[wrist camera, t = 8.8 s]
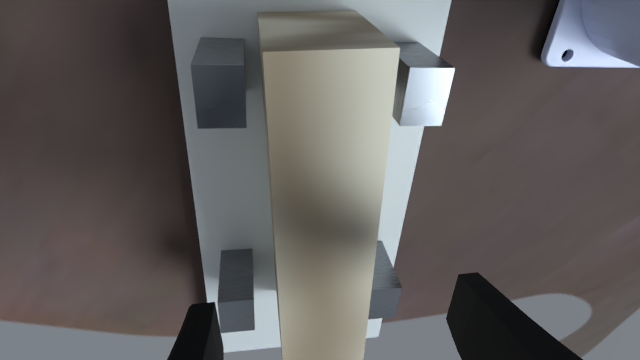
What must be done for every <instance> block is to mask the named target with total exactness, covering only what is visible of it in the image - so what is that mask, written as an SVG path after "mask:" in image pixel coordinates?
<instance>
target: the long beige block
mask: <svg viewBox="0 0 640 360" xmlns="http://www.w3.org/2000/svg"><path fill="white" fill-rule="evenodd" d="M257 17H258V32H259V46H260V61H261V76H262V90H263V105H264V120H265V134H266V149H267V164H268V178H269V193H270V207H271V222H272V237H273V251H274V266H275V281H276V294H277V306H278V318H279V329H280V341H281V353H282V360H363V358H364V350H365V341H366V333H367V325H368V316H369V308H370V299H371V291H372V282H373V274H374V265H375V257H376V248H377V240H378V231H379V223H380V215H381V206H382V198H383V189H384V181H385V172H386V164H387V155H388V147H389V138H390V130H391V121H392V113H393V105H394V96H395V88H396V79H397V71H398V62H399V54H400V47H399V46H398V45H396V44H395V43H394V42H393V41H392V40H390V39H389V38H388V37H387V36H386V35H384V34H383V33H382V32H381V31H380V30H378V29H377V28H376V27H375V26H374V25H373V24H371V23H370V22H369V21H368V20H367V19H365V18H364V17H363V16H362V15H361V14H359V13H358V12H357V11H356V10H349V11H292V12H257Z"/></svg>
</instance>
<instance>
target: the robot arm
mask: <svg viewBox="0 0 640 360" xmlns="http://www.w3.org/2000/svg"><path fill="white" fill-rule="evenodd" d="M566 50H567V54H566V55H565V57H563V58H562V54H563V53H564V52H565V51H566ZM561 58H562V59H561ZM541 61H542V62H543V63H544V64H546V65H548V66H551V67H614V68H640V0H560V2H559V4H558V7H557V10H556V13H555V16H554V19H553V21H552V24H551V27H550V30H549V33H548V36H547V39H546V41H545V44H544V47H543V50H542V53H541ZM446 319H447V323H448V325H449V328H450V331H451V334H452V337H453V339H454V342H455V345H456V347H457V350H458V352H459V355H460V357H461V359H462V360H583V359H581V358H580V357H579V356H577V355H576V354H575V353H573V352H572V351H571V350H569V349H568V348H567V347H566V346H564V345H563V344H562V343H560V342H559V341H558V340H556V339H555V338H554V337H553V336H551V335H550V334H549V333H548V332H547V331H545V330H544V329H543V328H542V327H540V326H539V325H538V324H537V323H536V322H534V321H533V320H532V319H531V318H529V317H528V316H527V315H526V314H525V313H524V312H523V311H521V310H520V309H519V308H518V307H517V306H516V305H514V304H513V303H512V302H511V301H510V300H509V299H508V298H506V297H505V296H504V295H503V294H502V293H501V292H500V291H498V290H497V289H496V288H495V287H494V286H493V285H492V284H490V283H489V282H488V281H487V280H486V279H485V278H484V277H482V276H481V275H480V274H479V273H478V272H477V273H468V274H459V275H458V279H457V282H456V286H455V289H454V293H453V296H452V300H451V303H450V307H449V311H448V314H447V318H446ZM223 353H224V347H223V342H222V336H221V331H220V326H219V321H218V316H217V310H216V305H215V302H209V303H200V304H192V305H191V306H190V307H189V309H188V311H187V314H186V317H185V320H184V322H183V325H182V327H181V330H180V332H179V335H178V337H177V340H176V342H175V344H174V346H173V348H172V350H171V353H170V355H169V357H168V359H167V360H223Z"/></svg>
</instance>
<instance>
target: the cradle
mask: <svg viewBox="0 0 640 360" xmlns="http://www.w3.org/2000/svg"><path fill="white" fill-rule="evenodd" d="M167 1H168V8H169V16H170V24H171V31H172V39H173V46H174V54H175V61H176V69H177V76H178V84H179V92H180V99H181V107H182V114H183V122H184V129H185V137H186V144H187V152H188V160H189V167H190V175H191V182H192V190H193V197H194V205H195V212H196V220H197V228H198V235H199V243H200V250H201V258H202V265H203V273H204V280H205V288H206V296H207V303H209V302H215V305H216V310H217V316H218V321H219V326H220V331H221V336H222V342H223V347H224V352H233V351H244V350H254V349H264V348H273V347H281V341H280V329H279V318H278V306H277V294H276V281H275V266H274V251H273V237H272V222H271V207H270V193H269V178H268V164H267V149H266V134H265V120H264V105H263V90H262V76H261V61H260V46H259V32H258V17H257V12H292V11H349V10H356V11H357V12H358V13H359V14H361V15H362V16H363V17H364V18H365V19H367V20H368V21H369V22H370V23H371V24H373V25H374V26H375V27H376V28H377V29H378V30H380V31H381V32H382V33H383V34H384V35H386V36H387V37H388V38H389V39H390V40H392V41H393V42H394V43H395V44H396V45H398V46H399V47H400V54H399V62H398V71H397V79H396V88H395V96H394V105H393V113H392V121H391V130H390V138H389V147H388V155H387V164H386V172H385V181H384V189H383V198H382V206H381V215H380V223H379V231H378V240H377V248H376V257H375V265H374V274H373V282H372V291H371V299H370V308H369V316H368V325H367V333H366V338H372V337H378V336H379V331H380V326H381V322H382V318H390V317H395V314H396V310H397V306H398V302H399V298H400V294H401V290H402V287H401V284H400V282H399V280H398V277H397V275H396V273H395V270H394V268H393V267H394V262H395V258H396V253H397V248H398V244H399V239H400V235H401V230H402V225H403V221H404V216H405V212H406V207H407V202H408V198H409V193H410V189H411V184H412V179H413V175H414V170H415V166H416V161H417V156H418V152H419V147H420V143H421V138H422V133H423V129H424V126H441V124H442V120H443V116H444V112H445V108H446V104H447V100H448V96H449V91H450V87H451V83H452V79H453V75H454V71H455V68H454V67H453V66H451V65H450V64H449V63H447V62H446V61H444V60H443V59H442V58H440V57H439V55H440V51H441V46H442V42H443V37H444V32H445V28H446V23H447V19H448V14H449V9H450V5H451V0H167Z"/></svg>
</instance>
